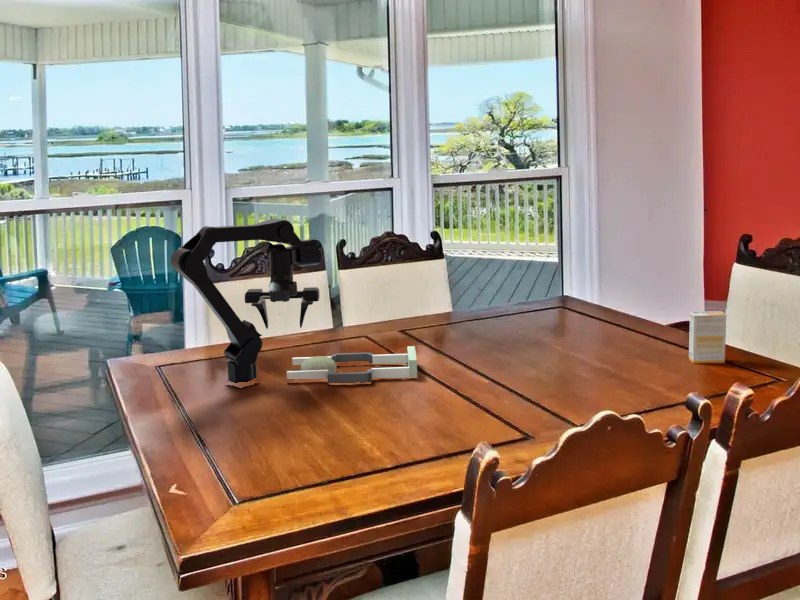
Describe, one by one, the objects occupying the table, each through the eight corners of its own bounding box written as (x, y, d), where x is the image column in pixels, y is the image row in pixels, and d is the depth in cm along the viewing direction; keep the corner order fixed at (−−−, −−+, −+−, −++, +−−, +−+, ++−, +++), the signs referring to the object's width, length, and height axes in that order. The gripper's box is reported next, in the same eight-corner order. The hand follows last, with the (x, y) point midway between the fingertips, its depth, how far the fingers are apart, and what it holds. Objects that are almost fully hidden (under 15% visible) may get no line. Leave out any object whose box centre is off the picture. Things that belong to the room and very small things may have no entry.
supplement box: (719, 358, 220) (721, 310, 217) (725, 363, 215) (727, 314, 213) (687, 359, 221) (689, 311, 218) (692, 364, 216) (694, 314, 213)
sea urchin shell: (338, 372, 212) (315, 351, 211) (318, 394, 214) (294, 373, 213) (341, 362, 221) (319, 342, 220) (321, 383, 223) (299, 363, 222)
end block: (409, 379, 211) (408, 360, 210) (407, 364, 224) (407, 346, 223) (417, 378, 211) (416, 359, 210) (415, 364, 224) (414, 346, 224)
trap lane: (285, 387, 207) (285, 376, 206) (294, 365, 227) (293, 355, 226) (409, 383, 207) (409, 371, 207) (407, 361, 227) (407, 351, 226)
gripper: (239, 274, 204) (243, 336, 207) (315, 272, 205) (318, 333, 207) (246, 267, 215) (249, 326, 218) (318, 265, 215) (320, 324, 218)
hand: (284, 327), depth 215 cm, fingers open, 8 cm apart
